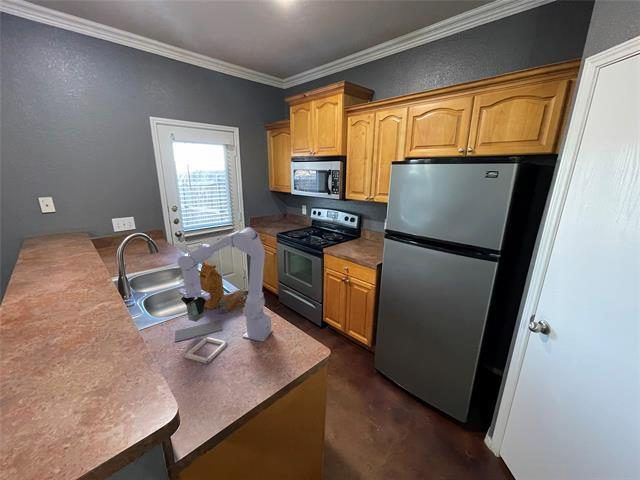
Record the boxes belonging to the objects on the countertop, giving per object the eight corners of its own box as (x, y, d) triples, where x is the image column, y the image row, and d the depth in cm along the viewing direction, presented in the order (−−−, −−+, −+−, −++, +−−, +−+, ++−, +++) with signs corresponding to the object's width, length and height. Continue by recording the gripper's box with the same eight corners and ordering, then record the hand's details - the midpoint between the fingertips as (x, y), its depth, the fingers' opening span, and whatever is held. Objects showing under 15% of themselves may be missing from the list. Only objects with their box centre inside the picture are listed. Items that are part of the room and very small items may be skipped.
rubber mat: (220, 320, 117) (220, 319, 117) (222, 330, 110) (222, 329, 110) (175, 331, 110) (175, 330, 109) (174, 342, 103) (174, 341, 103)
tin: (219, 315, 121) (217, 299, 119) (216, 313, 124) (214, 297, 121) (248, 304, 132) (247, 289, 129) (245, 302, 134) (243, 287, 132)
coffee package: (217, 296, 140) (212, 257, 134) (227, 304, 132) (223, 263, 126) (198, 302, 133) (192, 262, 128) (207, 311, 125) (202, 268, 119)
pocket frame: (227, 344, 101) (227, 341, 101) (207, 363, 91) (207, 360, 91) (206, 339, 105) (206, 336, 104) (185, 357, 95) (184, 354, 94)
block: (205, 315, 110) (203, 300, 108) (196, 321, 105) (194, 306, 103) (197, 313, 111) (195, 299, 109) (188, 320, 106) (186, 304, 105)
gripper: (169, 283, 103) (174, 314, 106) (199, 288, 98) (203, 320, 102) (184, 276, 109) (188, 305, 113) (212, 281, 105) (216, 311, 108)
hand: (196, 312), depth 108 cm, fingers closed on block, 4 cm apart
